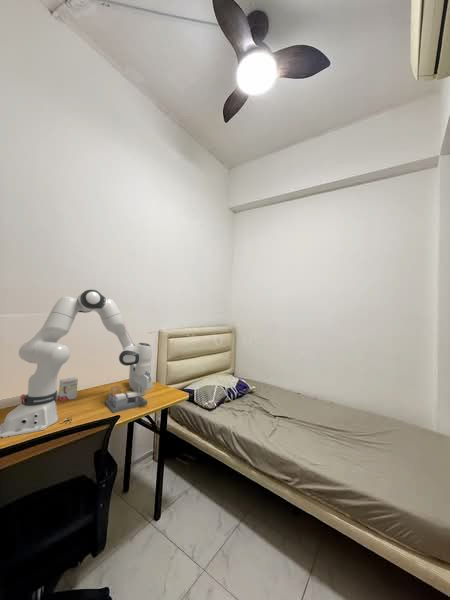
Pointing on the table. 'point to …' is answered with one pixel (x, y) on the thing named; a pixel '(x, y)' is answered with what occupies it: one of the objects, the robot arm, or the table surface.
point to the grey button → (120, 396)
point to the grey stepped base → (124, 403)
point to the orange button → (115, 390)
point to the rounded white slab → (131, 382)
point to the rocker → (135, 394)
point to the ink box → (68, 389)
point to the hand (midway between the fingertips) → (142, 392)
